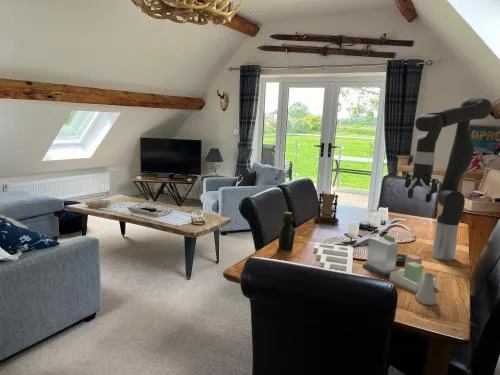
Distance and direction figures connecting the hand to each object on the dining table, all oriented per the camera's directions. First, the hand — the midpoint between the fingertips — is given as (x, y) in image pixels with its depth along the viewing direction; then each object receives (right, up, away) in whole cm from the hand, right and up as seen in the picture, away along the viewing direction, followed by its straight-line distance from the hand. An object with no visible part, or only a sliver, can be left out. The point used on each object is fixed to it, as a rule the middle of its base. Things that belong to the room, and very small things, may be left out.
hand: (418, 200), depth 161 cm
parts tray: (-9, -33, -13) cm, 36 cm away
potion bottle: (-55, -24, +20) cm, 64 cm away
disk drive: (-6, -29, +11) cm, 32 cm away
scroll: (-25, -17, +72) cm, 78 cm away
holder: (-37, -29, +2) cm, 47 cm away
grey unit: (-16, -30, -1) cm, 34 cm away
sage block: (-9, -32, -13) cm, 35 cm away
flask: (-10, -35, -27) cm, 46 cm away
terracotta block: (-4, -31, -1) cm, 31 cm away
